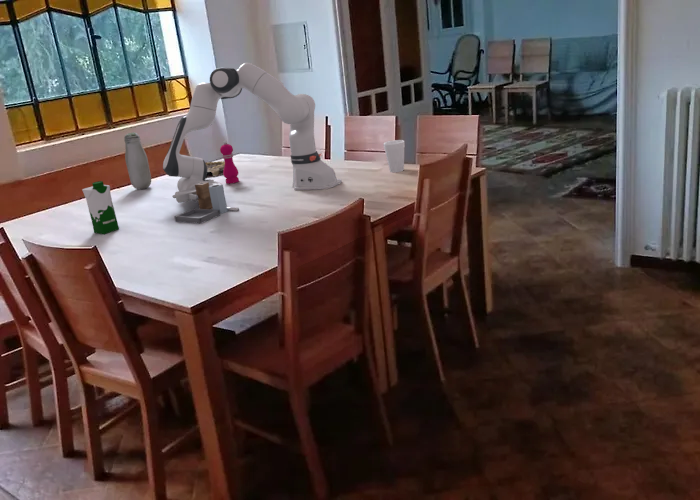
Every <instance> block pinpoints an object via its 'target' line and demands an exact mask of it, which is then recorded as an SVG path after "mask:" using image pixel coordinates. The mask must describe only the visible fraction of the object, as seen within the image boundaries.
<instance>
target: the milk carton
mask: <svg viewBox="0 0 700 500" xmlns="http://www.w3.org/2000/svg"><path fill="white" fill-rule="evenodd" d="M91 183H92V186H90V187H85V188H82V189H81V190H82V192H83V195H84V198H85V200H86V205H87V208H88V212H89V216H90V219H91V223H92V228H93V233H95V234H100V235H106V234H109V233H111V232H115V231H117V230H120V227H119V223H118V218H117V215H116V211H115V207H114V202H113V199H112V195H111V186H110V185H108V184H104V181H103V180H99V181H95V182H91Z"/></svg>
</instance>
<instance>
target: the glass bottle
mask: <svg viewBox="0 0 700 500" xmlns="http://www.w3.org/2000/svg"><path fill="white" fill-rule="evenodd" d="M123 140H124V143H125V151H124V152H125V154H124V155H125V156H124V157H125V158H124V159H125V164H126V168H127V169H126V170H127V172H128V173H127V174H128V176H129V180H130V183H131V186H132V187H133V188H134V189H136V190H145V189H147V188H149V187H150V186H151V184H152V175H151V171H150V165H149V160H148V156H147V153H146V151H145V149H144V147H143V145H142V142H141V138H140V135H139V133H137V132H128V133H126V134H125V135H124V138H123Z"/></svg>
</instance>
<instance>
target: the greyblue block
mask: <svg viewBox="0 0 700 500" xmlns="http://www.w3.org/2000/svg"><path fill="white" fill-rule="evenodd" d="M223 188H224V184H222V185H213V186H210V187H209V192H210V197H211V202H212V207H213V209H212V210H219V212H220V215H222V214H223V213H224V214H225V213H226V212H229V211H228V210H227V207H228V206H227V200H226V195H225V190H224V189H225V188H224V189H223Z"/></svg>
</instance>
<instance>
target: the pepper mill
mask: <svg viewBox="0 0 700 500" xmlns="http://www.w3.org/2000/svg"><path fill="white" fill-rule="evenodd" d="M219 151H220V154H222V155H221V156H222V159H223V160H224V162H225V166H224V170H223V172H222V176H223V177H224V178H225V183H226V184H228V185H229V184H236V183H238V182H240V180H239V177H238V176H239V169H238V168H237V166H236V165H235V163H234V160H233V158H234V155H233V151H234V148H233V146H232V145H231V144H229V143H228V142H227V140H223V145H221V146H220V148H219Z"/></svg>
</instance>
